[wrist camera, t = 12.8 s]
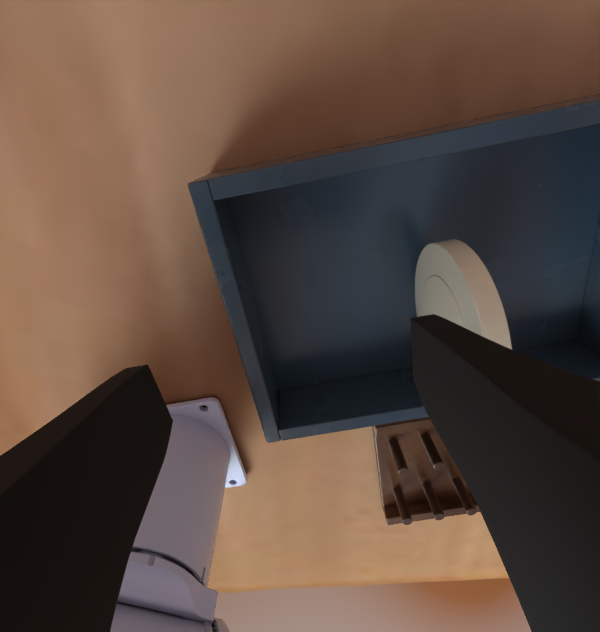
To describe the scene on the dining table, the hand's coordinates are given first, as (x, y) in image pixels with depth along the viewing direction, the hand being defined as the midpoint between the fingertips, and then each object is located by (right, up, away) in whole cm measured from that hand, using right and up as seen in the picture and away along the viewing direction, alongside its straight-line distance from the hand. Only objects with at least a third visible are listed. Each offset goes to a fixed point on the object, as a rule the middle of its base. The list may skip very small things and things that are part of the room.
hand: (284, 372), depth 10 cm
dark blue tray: (+7, +4, +10) cm, 13 cm away
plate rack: (+10, -8, +16) cm, 21 cm away
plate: (+7, +4, +9) cm, 12 cm away
